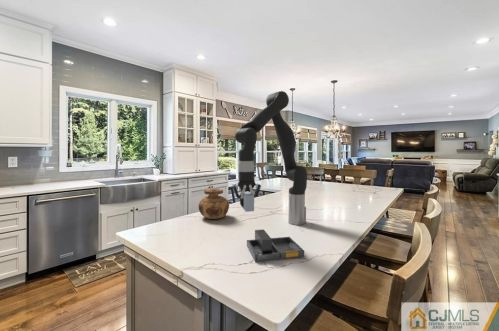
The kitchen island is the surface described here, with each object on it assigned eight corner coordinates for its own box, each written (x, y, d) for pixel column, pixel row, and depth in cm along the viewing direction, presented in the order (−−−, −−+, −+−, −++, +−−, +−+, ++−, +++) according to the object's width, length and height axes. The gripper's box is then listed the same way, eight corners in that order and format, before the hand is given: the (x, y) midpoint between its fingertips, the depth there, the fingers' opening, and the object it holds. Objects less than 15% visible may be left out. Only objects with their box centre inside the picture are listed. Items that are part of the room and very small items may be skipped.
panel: (248, 205, 124) (248, 191, 124) (254, 211, 112) (253, 196, 112) (240, 205, 123) (240, 191, 123) (245, 211, 112) (245, 196, 111)
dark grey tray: (289, 242, 113) (289, 226, 112) (304, 257, 97) (304, 238, 96) (246, 245, 109) (246, 229, 108) (255, 262, 93) (255, 243, 92)
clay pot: (236, 215, 148) (223, 185, 145) (207, 229, 144) (193, 199, 140) (229, 207, 167) (217, 181, 163) (203, 219, 162) (191, 193, 158)
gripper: (258, 169, 122) (259, 203, 123) (230, 170, 119) (231, 205, 120) (263, 170, 114) (263, 206, 116) (232, 171, 111) (233, 208, 113)
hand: (247, 205), depth 118 cm, fingers closed on panel, 4 cm apart
